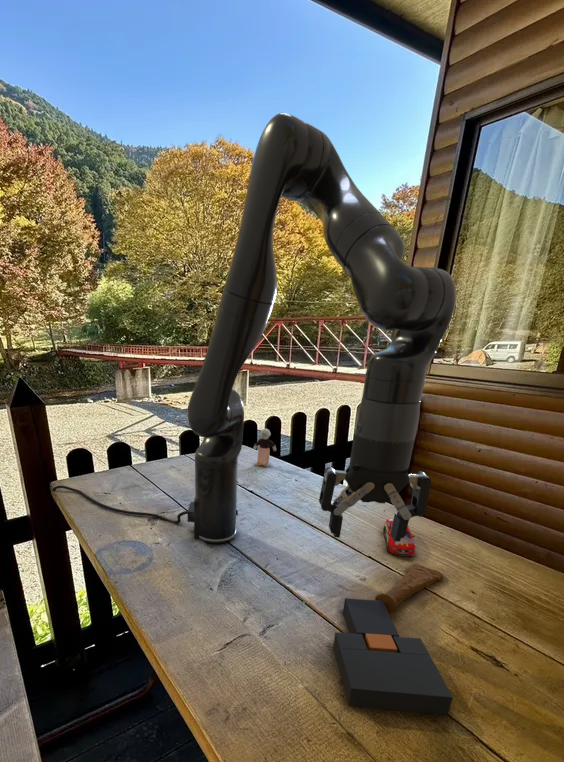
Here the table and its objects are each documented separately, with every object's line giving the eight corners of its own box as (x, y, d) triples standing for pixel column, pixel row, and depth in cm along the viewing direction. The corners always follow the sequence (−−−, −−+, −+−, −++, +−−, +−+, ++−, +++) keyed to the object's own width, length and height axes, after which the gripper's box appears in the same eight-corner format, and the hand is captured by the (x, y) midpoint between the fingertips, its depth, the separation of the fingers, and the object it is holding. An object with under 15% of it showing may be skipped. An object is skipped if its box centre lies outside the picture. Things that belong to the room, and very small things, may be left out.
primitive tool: (414, 565, 82) (418, 549, 80) (444, 576, 78) (448, 561, 77) (370, 609, 70) (373, 592, 68) (403, 625, 66) (407, 608, 65)
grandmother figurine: (252, 466, 137) (253, 429, 133) (252, 462, 141) (254, 426, 136) (275, 467, 136) (278, 430, 131) (275, 463, 139) (277, 427, 135)
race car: (415, 561, 83) (419, 544, 82) (386, 556, 85) (389, 539, 83) (407, 531, 95) (410, 515, 93) (382, 527, 96) (384, 512, 95)
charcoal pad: (359, 662, 59) (361, 646, 58) (342, 612, 69) (344, 598, 68) (402, 666, 58) (406, 650, 57) (379, 615, 68) (382, 600, 67)
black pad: (348, 706, 52) (351, 688, 51) (332, 647, 62) (335, 631, 61) (448, 715, 51) (453, 697, 50) (416, 654, 60) (420, 638, 59)
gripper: (429, 427, 58) (406, 528, 64) (325, 423, 59) (312, 522, 66) (453, 442, 51) (425, 554, 57) (335, 437, 53) (319, 546, 59)
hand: (364, 536), depth 61 cm, fingers open, 8 cm apart
